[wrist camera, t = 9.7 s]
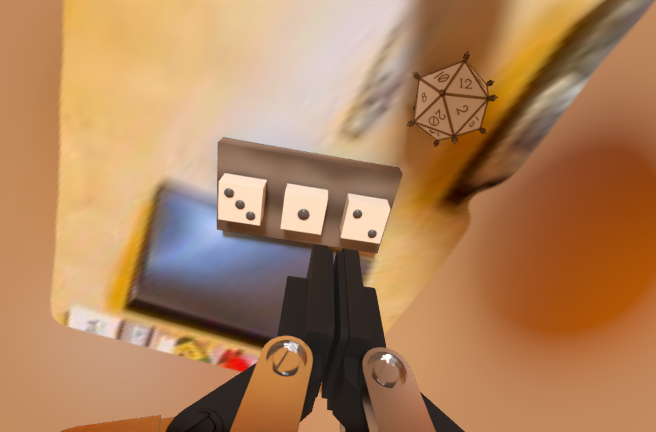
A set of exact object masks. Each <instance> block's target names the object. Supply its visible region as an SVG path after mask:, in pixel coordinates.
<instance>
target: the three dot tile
mask: <svg viewBox="0 0 656 432" xmlns="http://www.w3.org/2000/svg"><path fill="white" fill-rule="evenodd" d="M266 184H267V180H264V179H258V178H252V177H246V176H239V175H233V174H227V173H225V174H224V175H223V176H222V178H221V179H220V180H219V196H218V219H220V220H226V221H233V222H239V223H246V224H253V225H259V226H260V224H261V221H262V218H263V216H264V205H265V194H266Z"/></svg>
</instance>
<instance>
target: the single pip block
mask: <svg viewBox="0 0 656 432" xmlns="http://www.w3.org/2000/svg"><path fill="white" fill-rule="evenodd" d="M327 201H328V190H325V189H319V188H313V187H307V186H301V185H295V184H288V183H287V187H286V190H285V196H284V204H283V212H282V220H281V228H280V229H286V230H293V231H299V232H306V233H312V234H319V235H321V231H322V226H323V221H324V216H325V211H326V206H327Z"/></svg>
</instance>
